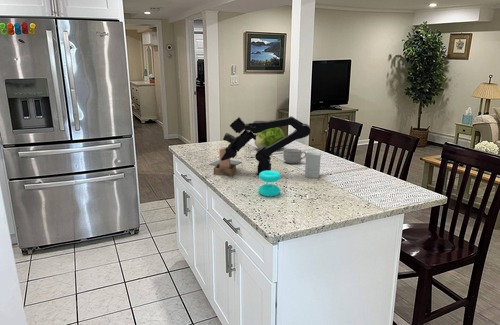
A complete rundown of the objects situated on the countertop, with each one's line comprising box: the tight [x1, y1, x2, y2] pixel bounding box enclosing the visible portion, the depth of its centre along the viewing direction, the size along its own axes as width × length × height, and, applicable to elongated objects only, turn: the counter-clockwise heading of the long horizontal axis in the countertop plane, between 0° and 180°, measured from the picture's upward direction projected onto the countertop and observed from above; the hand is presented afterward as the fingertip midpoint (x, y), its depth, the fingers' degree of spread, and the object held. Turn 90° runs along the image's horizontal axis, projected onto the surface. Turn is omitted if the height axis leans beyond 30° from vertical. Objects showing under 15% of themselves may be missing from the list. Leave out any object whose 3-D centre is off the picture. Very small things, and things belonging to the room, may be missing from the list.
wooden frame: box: [213, 163, 237, 177], centre depth 203 cm, size 10×10×4 cm
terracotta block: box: [219, 146, 231, 169], centre depth 202 cm, size 5×5×13 cm
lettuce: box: [254, 127, 286, 149], centre depth 255 cm, size 16×21×15 cm
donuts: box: [258, 169, 282, 197], centre depth 172 cm, size 10×10×10 cm
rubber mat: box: [209, 159, 243, 167], centre depth 221 cm, size 14×14×1 cm
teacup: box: [282, 148, 307, 165], centre depth 224 cm, size 14×11×8 cm
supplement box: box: [304, 150, 322, 179], centre depth 199 cm, size 7×7×13 cm
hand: (222, 158), depth 202 cm, fingers closed on terracotta block, 5 cm apart
